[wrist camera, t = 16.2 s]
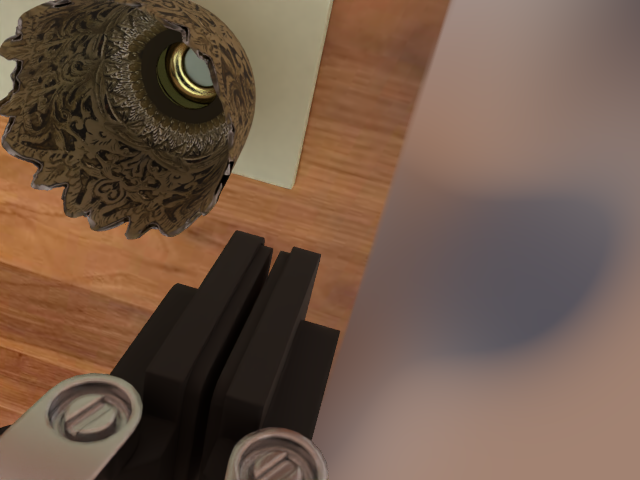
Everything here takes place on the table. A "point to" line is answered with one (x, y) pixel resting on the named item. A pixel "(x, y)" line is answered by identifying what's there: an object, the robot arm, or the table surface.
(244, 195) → the table surface
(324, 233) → the table surface
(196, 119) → the brown jagged-rimmed vessel
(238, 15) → the mat
